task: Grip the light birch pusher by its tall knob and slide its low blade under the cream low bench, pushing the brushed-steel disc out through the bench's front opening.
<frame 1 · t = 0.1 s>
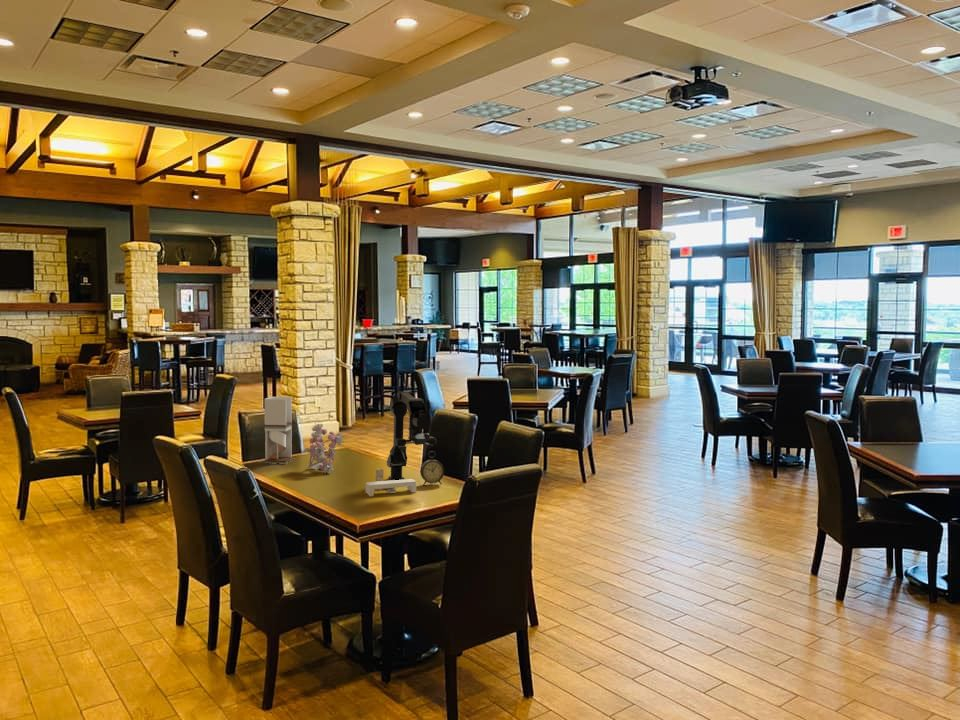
hand: (415, 459, 341), 15 cm above the table, tool pointing down, fingers open, 9 cm apart
grey dispenser: (278, 462, 402), on the table
cream bench: (391, 492, 339), on the table
birch pusher: (379, 483, 356), on the table
alarm clock: (431, 485, 356), on the table
flower: (323, 471, 381), on the table
steel disc: (391, 493, 339), on the table
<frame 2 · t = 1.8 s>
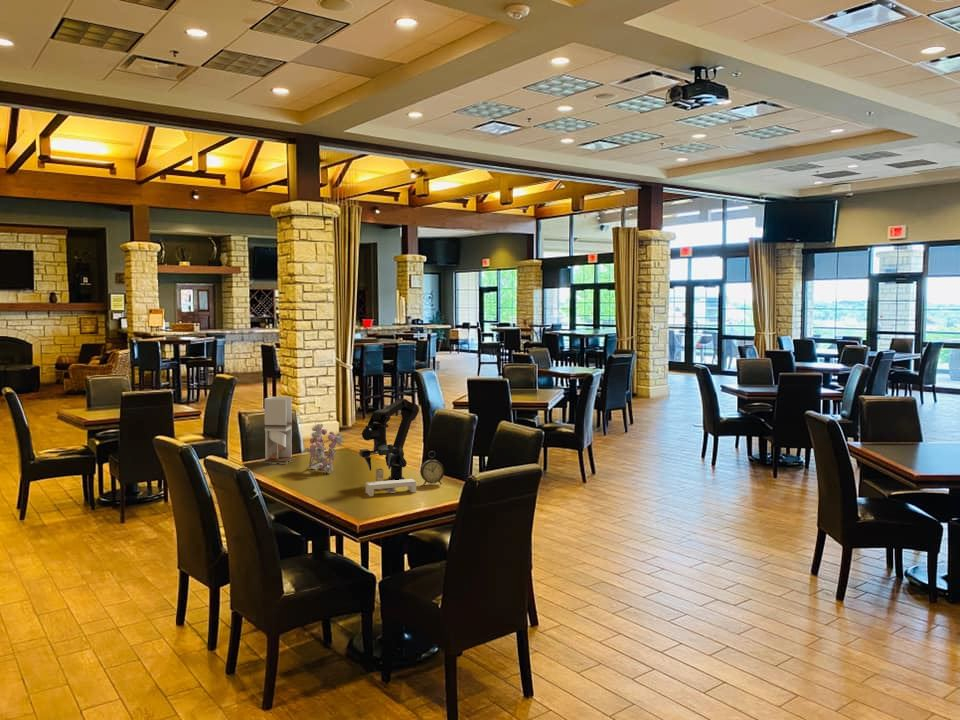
hand: (379, 469, 355), 7 cm above the table, tool pointing down, fingers open, 9 cm apart
nothing on the table moved.
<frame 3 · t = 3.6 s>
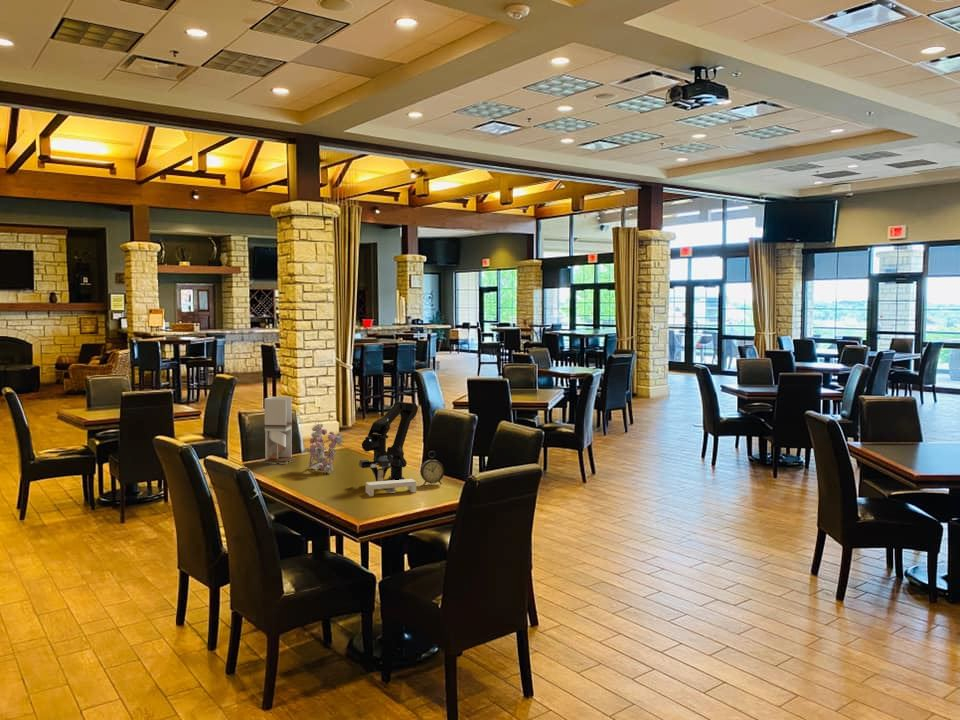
hand: (379, 480, 356), 2 cm above the table, tool pointing down, fingers closed on birch pusher, 2 cm apart
birch pusher: (379, 483, 356), on the table, touching gripper
everything else where it was.
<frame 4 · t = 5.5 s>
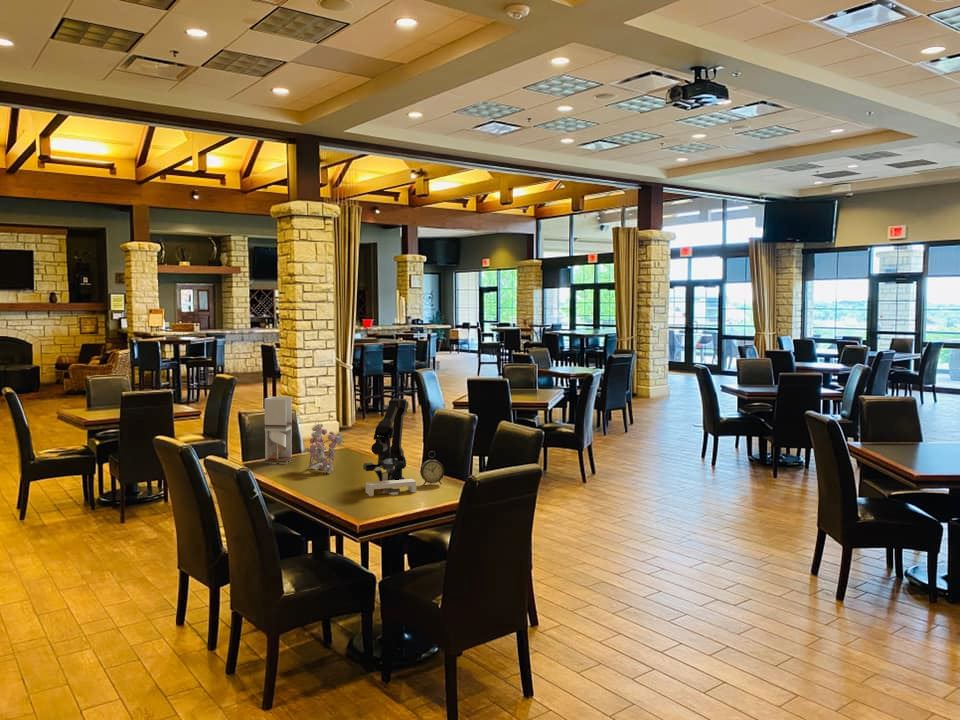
hand: (383, 484, 349), 2 cm above the table, tool pointing down, fingers closed on birch pusher, 2 cm apart
birch pusher: (383, 487, 349), on the table, touching gripper, steel disc
steel disc: (393, 494, 336), on the table, touching birch pusher
everything else where it was.
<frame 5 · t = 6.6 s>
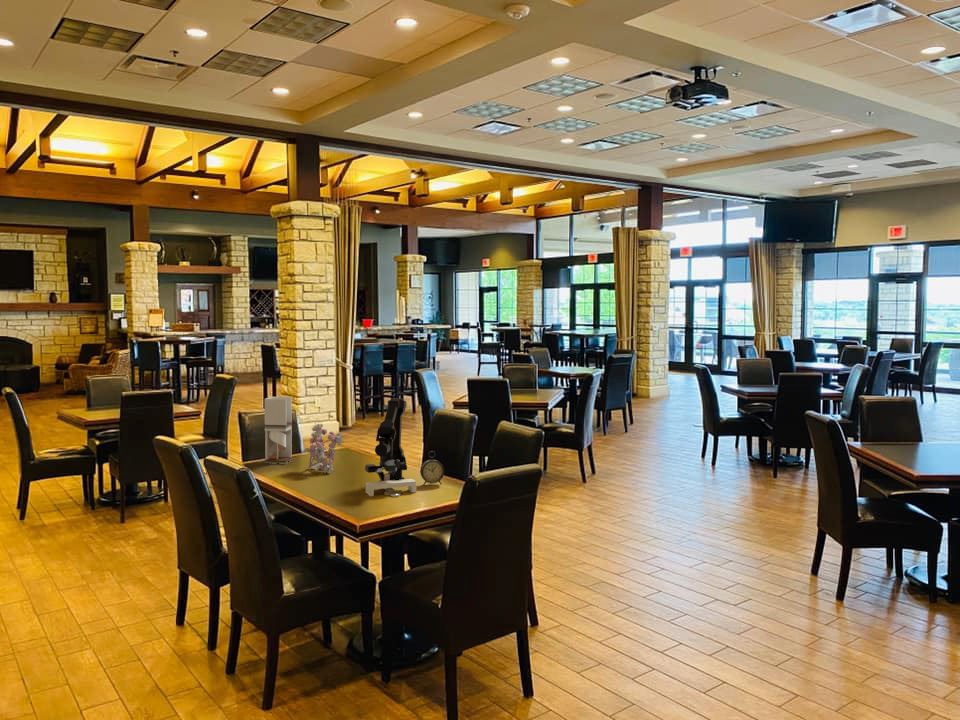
hand: (385, 485, 346), 1 cm above the table, tool pointing down, fingers closed on birch pusher, 2 cm apart
birch pusher: (385, 488, 346), on the table, touching gripper, steel disc
steel disc: (395, 496, 333), on the table, touching birch pusher
everything else where it was.
when the fingers open (1 cm above the table, at t = 7.4 s): birch pusher stays where it is, on the table.
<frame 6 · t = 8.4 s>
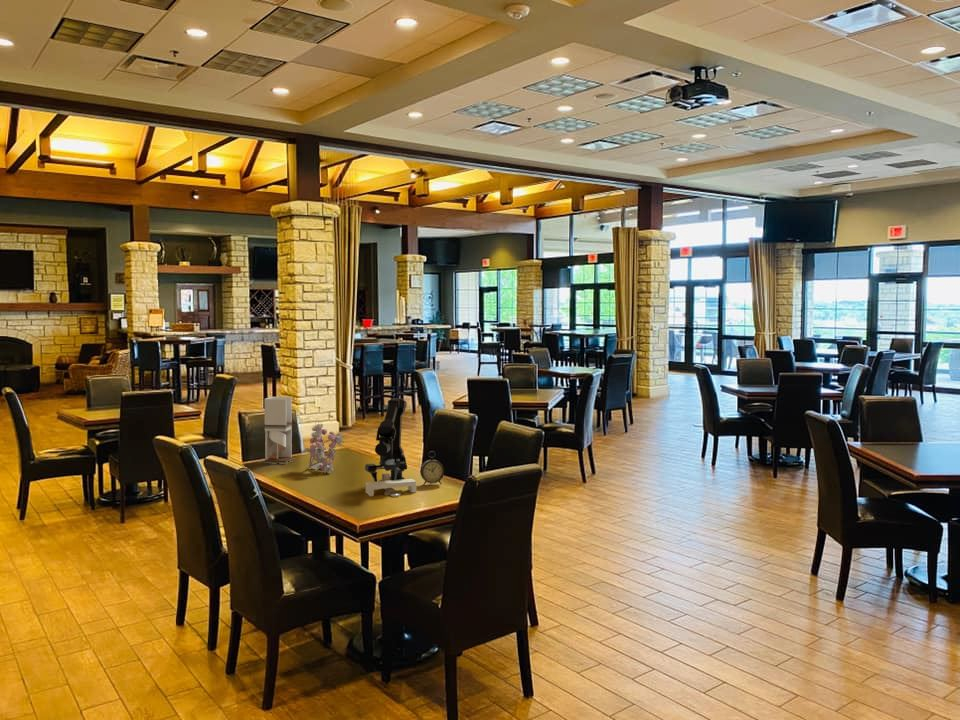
hand: (385, 485, 346), 2 cm above the table, tool pointing down, fingers open, 9 cm apart
birch pusher: (385, 488, 346), on the table
steel disc: (395, 496, 333), on the table
everything else where it was.
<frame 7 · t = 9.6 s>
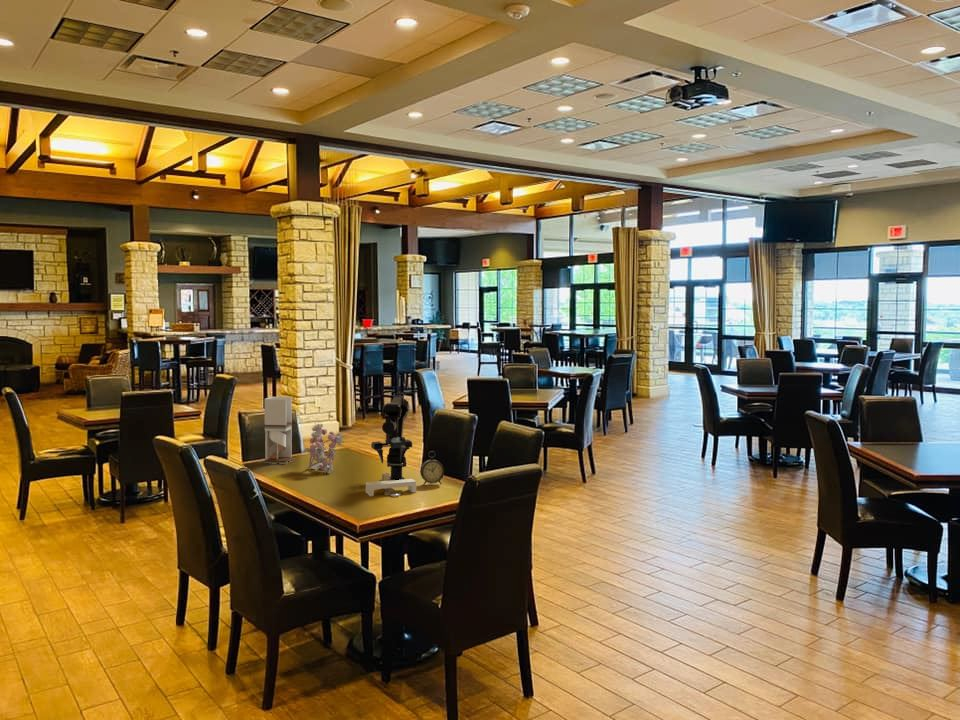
hand: (391, 462, 353), 11 cm above the table, tool pointing down, fingers open, 9 cm apart
nothing on the table moved.
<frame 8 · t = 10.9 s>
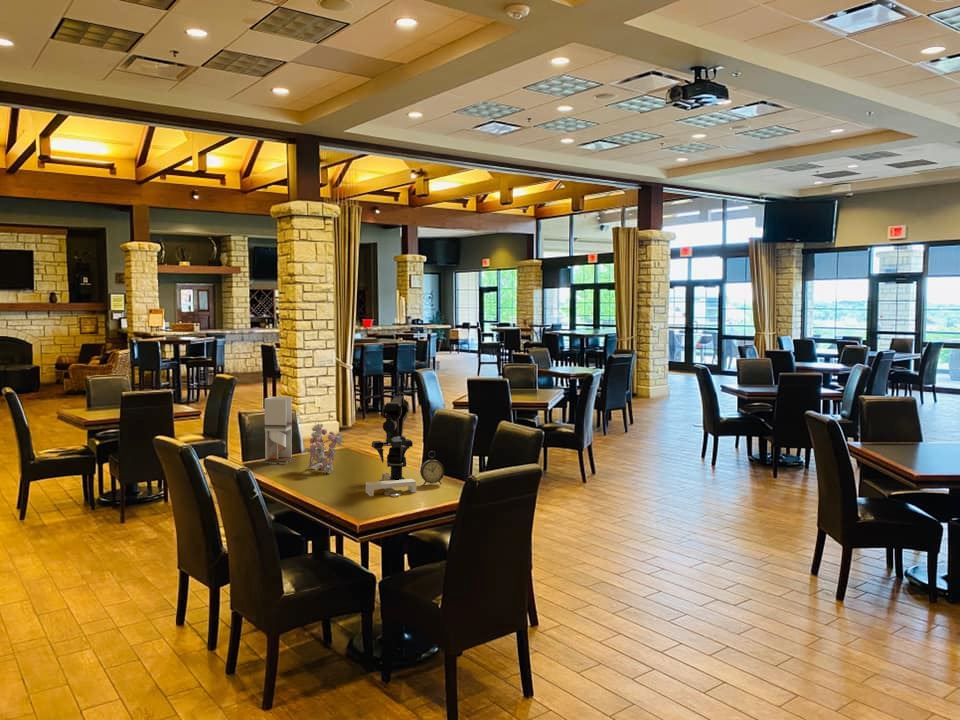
hand: (392, 461, 354), 11 cm above the table, tool pointing down, fingers open, 9 cm apart
nothing on the table moved.
at the end: steel disc inside the target area (3.6 cm from its centre), on the table; steel disc moved 6.1 cm from its start; the gripper is holding nothing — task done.
